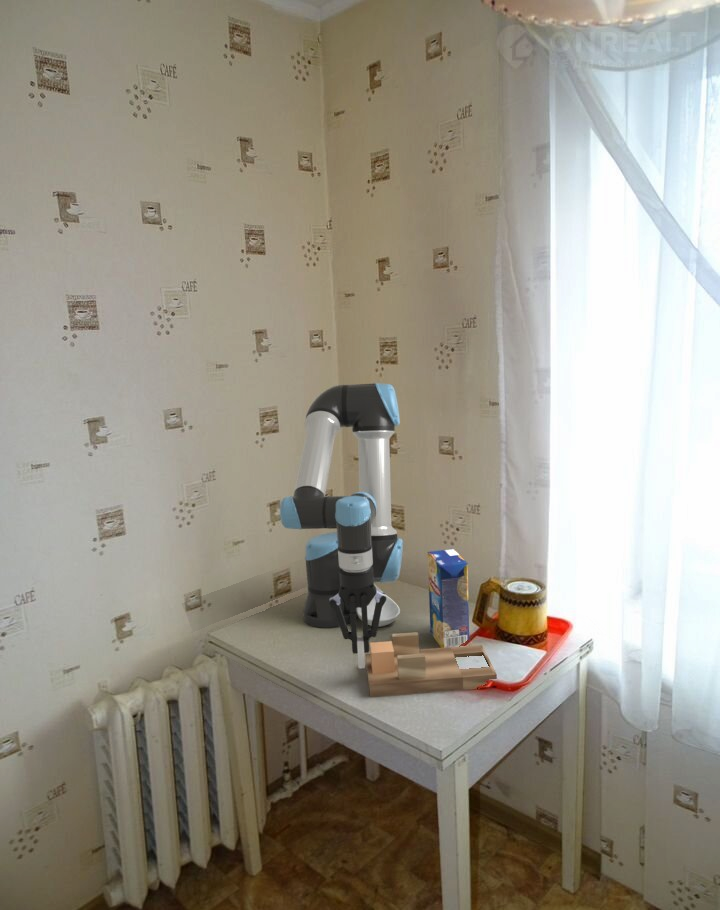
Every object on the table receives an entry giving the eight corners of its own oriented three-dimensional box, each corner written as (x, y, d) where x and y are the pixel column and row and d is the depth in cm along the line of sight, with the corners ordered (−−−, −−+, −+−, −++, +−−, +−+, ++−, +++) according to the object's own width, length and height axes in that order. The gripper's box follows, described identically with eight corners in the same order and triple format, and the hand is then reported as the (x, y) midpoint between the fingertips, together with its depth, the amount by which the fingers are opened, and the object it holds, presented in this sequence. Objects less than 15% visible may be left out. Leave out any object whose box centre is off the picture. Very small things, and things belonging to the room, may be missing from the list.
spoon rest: (406, 628, 180) (405, 602, 178) (363, 635, 177) (362, 609, 176) (380, 595, 202) (379, 572, 201) (342, 601, 199) (340, 578, 198)
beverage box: (455, 628, 178) (453, 548, 173) (469, 647, 167) (467, 563, 163) (430, 631, 176) (427, 551, 172) (443, 651, 166) (440, 566, 162)
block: (371, 662, 156) (369, 642, 155) (392, 661, 156) (391, 641, 155) (372, 673, 151) (371, 653, 150) (394, 672, 151) (393, 651, 150)
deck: (366, 665, 161) (364, 634, 159) (481, 656, 162) (481, 625, 161) (370, 697, 147) (368, 663, 146) (496, 686, 148) (496, 653, 147)
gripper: (326, 575, 145) (333, 675, 149) (386, 571, 145) (391, 671, 150) (326, 563, 152) (332, 659, 157) (384, 559, 152) (388, 655, 157)
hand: (361, 665), depth 153 cm, fingers closed
